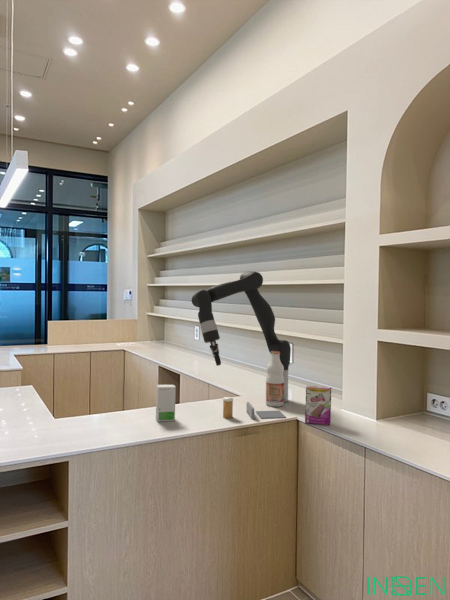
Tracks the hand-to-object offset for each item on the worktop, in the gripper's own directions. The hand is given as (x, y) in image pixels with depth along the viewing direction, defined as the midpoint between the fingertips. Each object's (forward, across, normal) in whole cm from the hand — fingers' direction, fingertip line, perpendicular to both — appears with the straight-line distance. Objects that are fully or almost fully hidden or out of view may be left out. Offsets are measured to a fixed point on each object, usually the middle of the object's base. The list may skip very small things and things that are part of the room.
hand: (218, 364), depth 207 cm
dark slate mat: (+29, +12, -18) cm, 36 cm away
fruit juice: (+26, +31, -23) cm, 47 cm away
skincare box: (+18, +2, +30) cm, 35 cm away
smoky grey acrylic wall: (+27, +10, -8) cm, 29 cm away
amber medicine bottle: (+24, +7, +2) cm, 25 cm away
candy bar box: (+38, -2, -36) cm, 52 cm away
